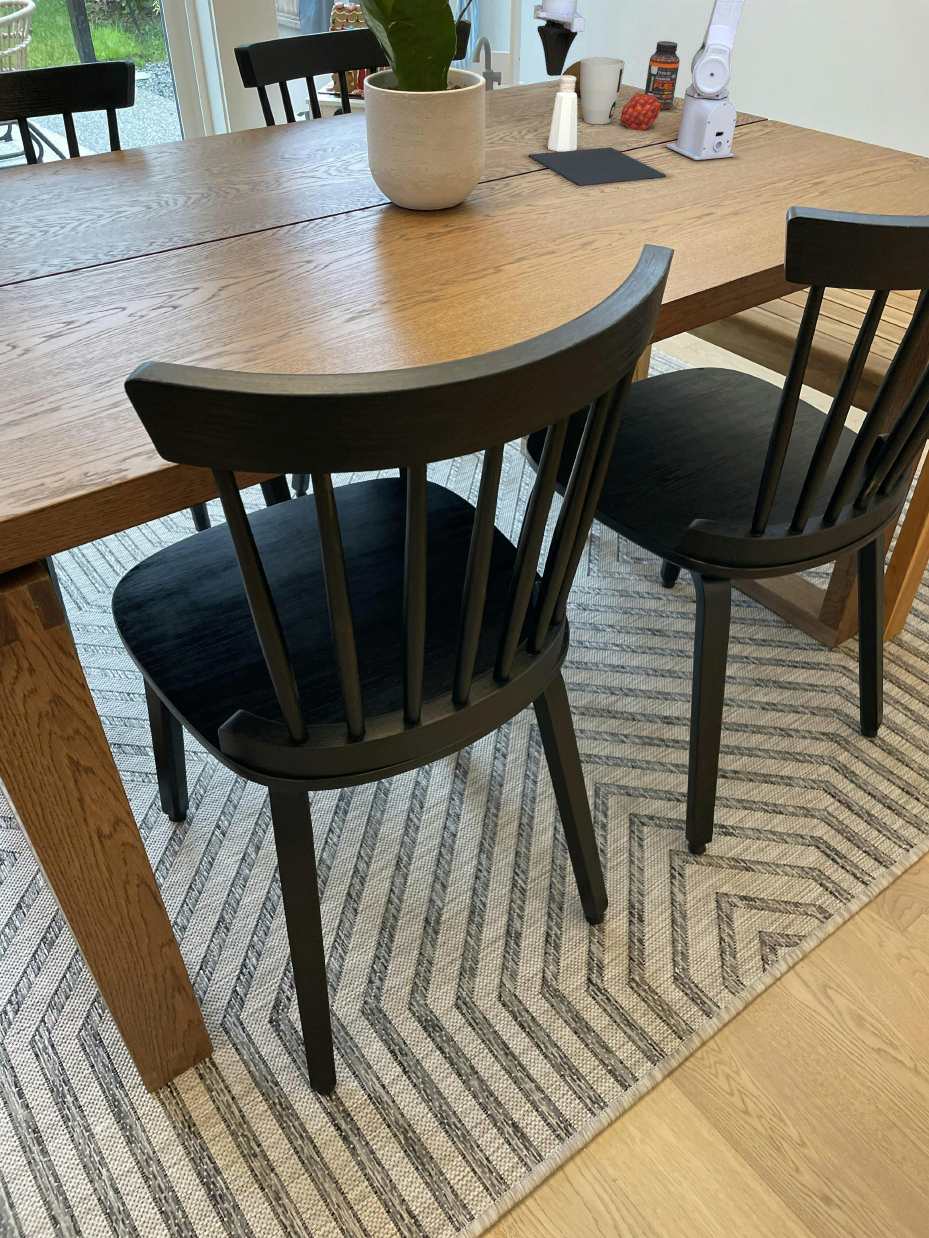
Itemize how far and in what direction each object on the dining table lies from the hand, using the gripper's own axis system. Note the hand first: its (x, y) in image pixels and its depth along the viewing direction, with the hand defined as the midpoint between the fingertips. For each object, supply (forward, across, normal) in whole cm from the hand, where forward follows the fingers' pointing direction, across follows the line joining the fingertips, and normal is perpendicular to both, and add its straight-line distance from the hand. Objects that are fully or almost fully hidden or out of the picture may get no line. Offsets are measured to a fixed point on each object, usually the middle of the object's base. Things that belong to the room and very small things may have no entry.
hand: (554, 75), depth 157 cm
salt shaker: (+10, +5, 0) cm, 12 cm away
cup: (+10, -11, +16) cm, 22 cm away
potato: (+10, -30, +24) cm, 40 cm away
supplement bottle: (+11, -18, +34) cm, 40 cm away
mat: (+10, +17, 0) cm, 20 cm away
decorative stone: (+10, -4, +21) cm, 24 cm away
